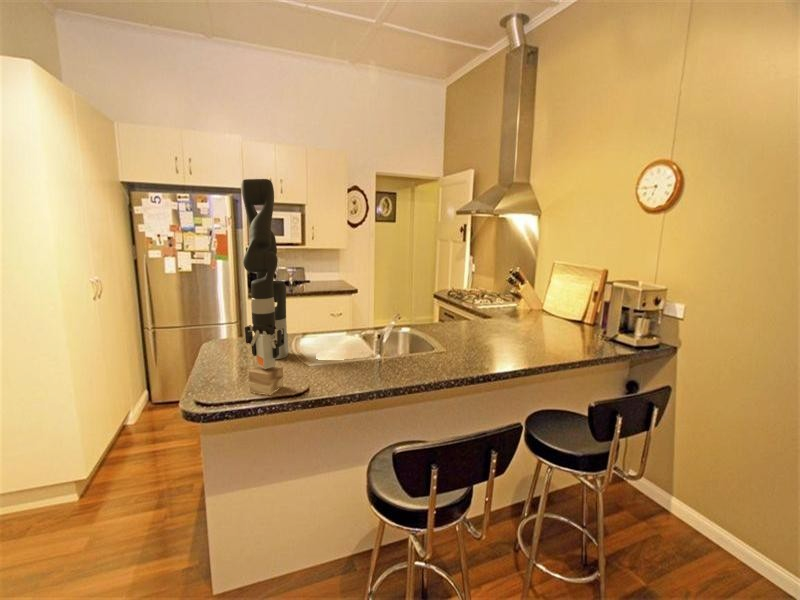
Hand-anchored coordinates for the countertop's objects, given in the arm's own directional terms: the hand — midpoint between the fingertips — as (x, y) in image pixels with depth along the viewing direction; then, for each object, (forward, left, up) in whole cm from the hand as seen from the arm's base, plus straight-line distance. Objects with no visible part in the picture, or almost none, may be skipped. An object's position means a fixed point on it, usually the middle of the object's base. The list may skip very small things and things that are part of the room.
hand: (265, 356), depth 138 cm
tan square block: (0, 0, -9) cm, 9 cm away
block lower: (0, 0, -13) cm, 13 cm away
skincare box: (0, 0, -4) cm, 4 cm away
